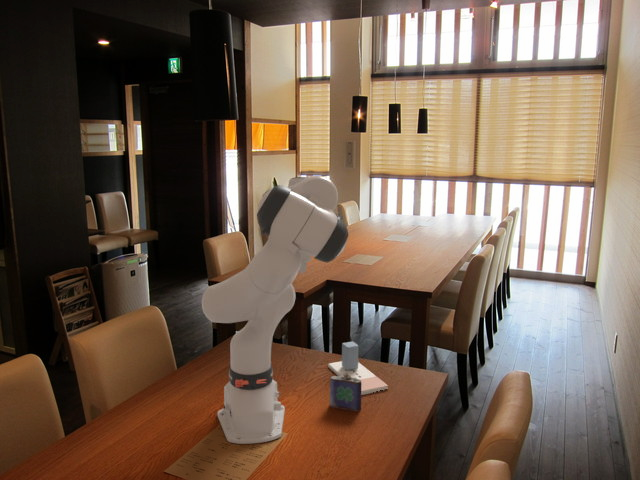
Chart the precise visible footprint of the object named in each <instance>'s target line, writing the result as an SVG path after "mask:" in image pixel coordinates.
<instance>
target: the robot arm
mask: <svg viewBox="0 0 640 480" xmlns="http://www.w3.org/2000/svg"><path fill="white" fill-rule="evenodd" d="M338 201H339V193H338V189H337V187H336V185H335V184H334V182H333V181H332V180H330V179H329V178H327V177H325V176H322V175H312V176H309V177H306V176H297V177H296V176H295V177H292V178H290V179H289V181H288V185H287V186H284V185H280V184H278V185H275V186H273V187H272V188H271V189H267V190H266V191H265V192H264V193H263V194H262V196H261V199H260V201H259V203H258V207H257V213H256V219H257V223H258V226H259V228H260V230H261V232H260V235H261V237H263V236H264V235H266V236H267V238H268V239H267V240H266V242H265V243H264V245H263V246H262V248H261V249H259V250H258V251H257V253H256V254H254V256H253V258H251V260H250V262H249V263H248V264H247V266H246V267H245V268H244V269H242V270H241V271H239V272H238V273H236V274H234V275H232V276H230V277H229V278H227V279H225V280H223V281H220V282H218V283H216V284H215V283H214V284H213V285H210V286H208V287H207V288H206V289H205V290H204V292H203V294H202V298H201V309H202V312H203V314H204V315H205V317H206V318H207V319H208V320H209V321H210V322H211V323H219V324H220V323H221V324H233V323H239V322H246V321H247V322H246V324H245V326H244V327H243V328H241V329H240V330H238V331H237V332H236V333H235V334H234V335H233V337H232V338H231V340H230V344H229V345H230V346H229V347H230V357H229V358H230V359H229V360H230V365H229V367H228V380H229V381H228V382H227V383H226V384H225V385H224V387H223V395H224V396H223V408H221V409H219V410H218V411H217V415H216V416H217V418H218V421H219V424H220V426H221V428H222V431H223V433H224V436H225V438H226V440H227V442H229V443H232V444H238V445H239V444H241V445H242V444H243V445H246V444H260V443H266V442H270V441H273V440H274V441H275V440H276V439H280V438H281V436H282V433H283V426H284V418H285V411H286V409H285V406H284V405H283V404H282V402H281V401H278V397H280V391H278V382H277V381H276V380H274V378H273V377H274V376H273V374H274V371H273V370H274V369H273V364H272V361H271V359H272V343H273V342H272V341H273V338H274V337H273V336H274V334H275V331H276V329H277V327H278V325H279V324H280V322H281V320H282V319H283V318H284V317H285V315H286V314H287V313H289V312H290V311H291V310H292V309H293V307H294V305H295V301H296V298H297V297H296V289H295V287H294V285H293V282H294V281H295V279H296V277H297V276H298V275H299V274H298V273H300V274H306V271H307V265H308V264H307V263H309V262H311V260H312V259H311V258H312V257H313V259H315V260H317V261H319V262H323V263H329V262H332V261H334V260H335V259H337V257H339V256H340V255H341V254H342V253H343V251H344V250H345V248H346V246H347V243H348V238H349V234H350V233H349V229H348V227H347V225H346V223H345V222H344V221H343V215H342V214H339V215H338V213H335V212H334V210H335V209H336V207H337V205H338Z"/></svg>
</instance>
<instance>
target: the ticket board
mask: <svg viewBox="0 0 640 480" xmlns="http://www.w3.org/2000/svg"><path fill="white" fill-rule="evenodd" d="M327 367H328V368H329V369H330V371H332V372H334V374H335V375H336V376H342V377H344V375H343V374H344V373H345V372H349V373H348V375H350V376H351V377H352V378H357V379H360V380H361V384H362V385H361V396H363V395H368V394H373V392H374V393H377V392H376V391H378V392H381V391H380V390H383V391H385V390H384V389H389V385H388V384H387V383H386V382H384V381H383V380H382V379H381V378H380V377H378V376H376V375H375V374H374V373H372V372H371V371H370V370H369V369H368V368H367V367H365V365H363V364H361V363H360V361H358V369H353V370H346V369H345V368H344V367H343V366H342V360H340V361H334V362H330V363H328V366H327Z"/></svg>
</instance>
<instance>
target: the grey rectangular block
mask: <svg viewBox="0 0 640 480" xmlns="http://www.w3.org/2000/svg"><path fill="white" fill-rule="evenodd" d="M359 346H360V345H358V344H357V343H356V342H354V341H347V342H342V343H341V361H342V366H343V367H344V368H345V369H346V370H353V369H358V362H359Z"/></svg>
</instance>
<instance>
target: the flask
mask: <svg viewBox="0 0 640 480" xmlns="http://www.w3.org/2000/svg"><path fill="white" fill-rule="evenodd" d="M348 373H349V372H345V373H344V374H343V375H344V377H342V376H338V375H332V376H331V377H330V379H329V383H330V384H329V385H330V387H329V388H330V389H329V406H330V407H331V408H334V409H340V410H348V411H354V412H359V411H361V409H362V395H361V385H362V384H361V380H360V379H357V378H352V377H351V376H350V375H348Z"/></svg>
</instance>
